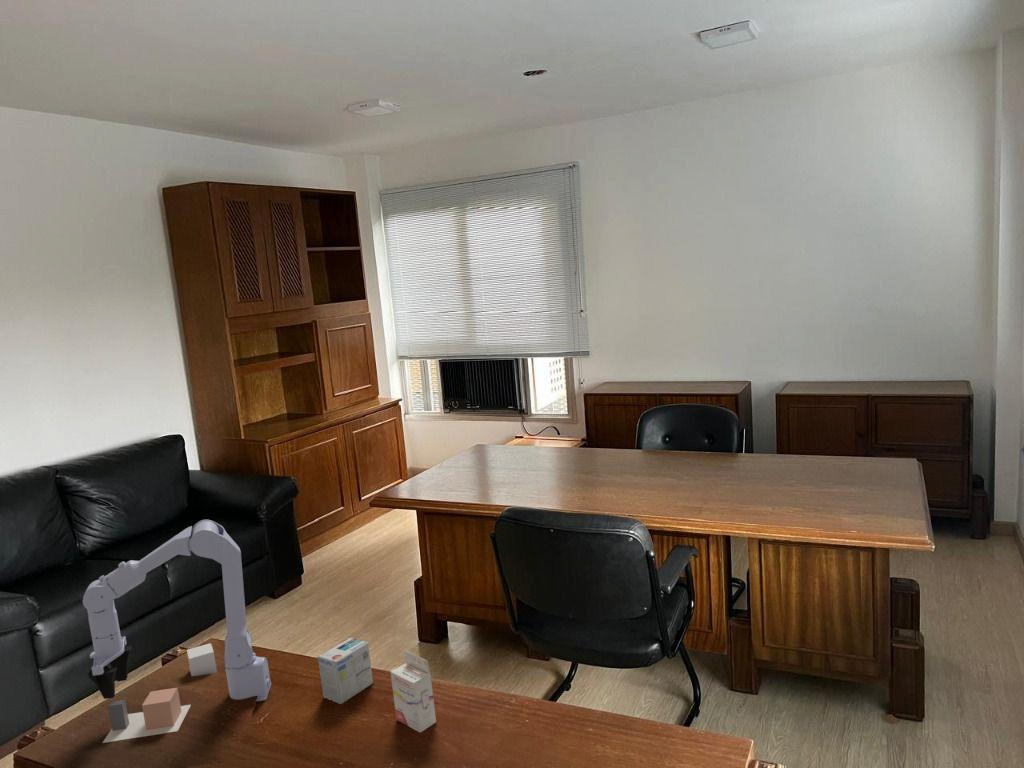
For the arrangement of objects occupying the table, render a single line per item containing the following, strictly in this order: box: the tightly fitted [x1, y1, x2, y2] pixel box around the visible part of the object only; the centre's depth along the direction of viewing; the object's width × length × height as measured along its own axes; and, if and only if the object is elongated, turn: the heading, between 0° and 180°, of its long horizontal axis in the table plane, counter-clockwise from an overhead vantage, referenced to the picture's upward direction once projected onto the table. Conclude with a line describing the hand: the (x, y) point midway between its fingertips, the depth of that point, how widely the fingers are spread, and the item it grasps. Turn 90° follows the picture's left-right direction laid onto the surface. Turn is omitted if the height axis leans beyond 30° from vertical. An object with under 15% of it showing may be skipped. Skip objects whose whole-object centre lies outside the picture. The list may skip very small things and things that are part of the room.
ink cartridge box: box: [390, 650, 437, 733], centre depth 169 cm, size 9×5×15 cm, turn 47°
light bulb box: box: [317, 637, 374, 705], centre depth 185 cm, size 11×7×11 cm, turn 144°
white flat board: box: [102, 699, 192, 744], centre depth 177 cm, size 16×11×7 cm
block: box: [141, 687, 182, 730], centre depth 178 cm, size 6×6×6 cm
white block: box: [186, 643, 218, 677], centre depth 202 cm, size 6×6×6 cm
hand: (115, 688), depth 178 cm, fingers open, 7 cm apart
